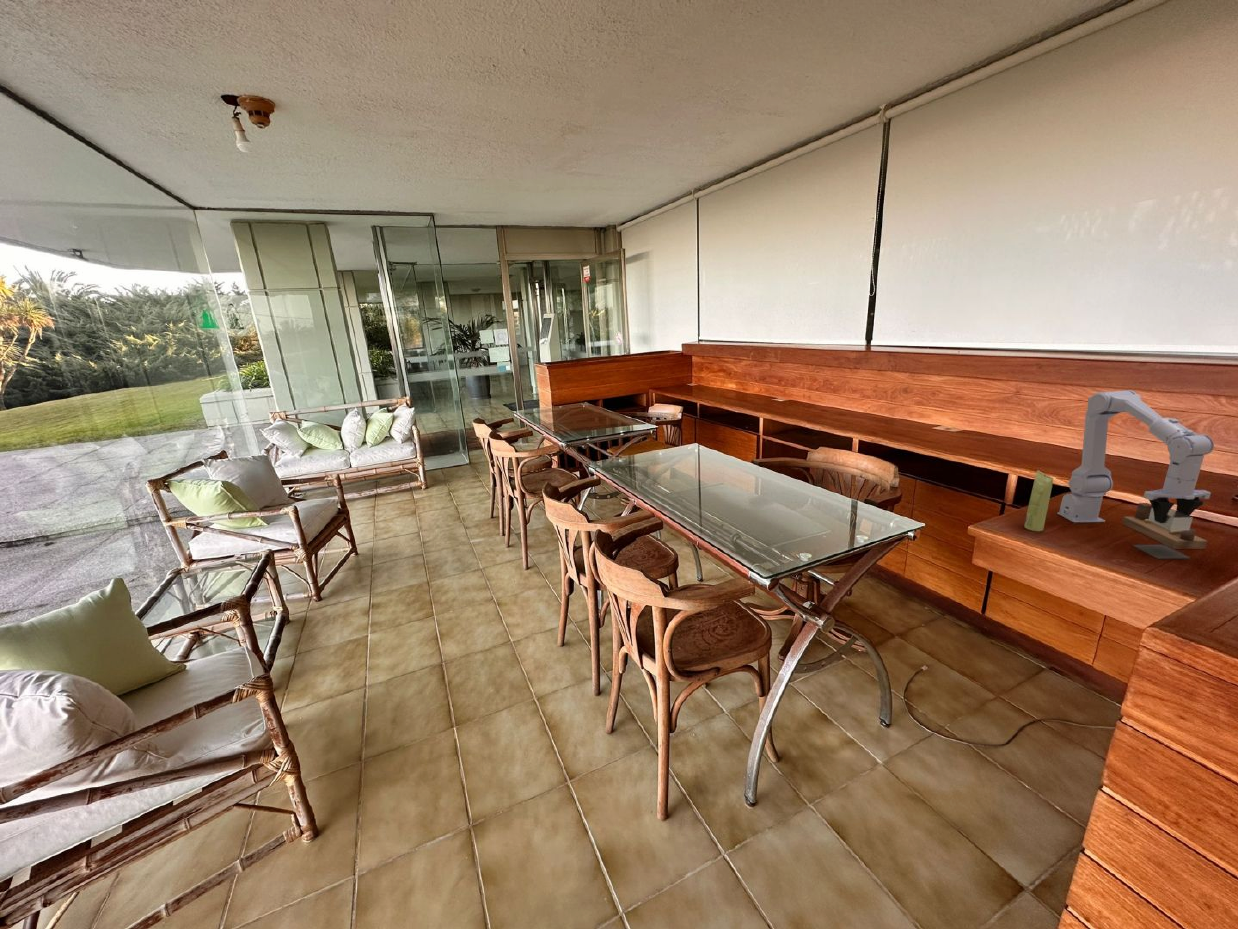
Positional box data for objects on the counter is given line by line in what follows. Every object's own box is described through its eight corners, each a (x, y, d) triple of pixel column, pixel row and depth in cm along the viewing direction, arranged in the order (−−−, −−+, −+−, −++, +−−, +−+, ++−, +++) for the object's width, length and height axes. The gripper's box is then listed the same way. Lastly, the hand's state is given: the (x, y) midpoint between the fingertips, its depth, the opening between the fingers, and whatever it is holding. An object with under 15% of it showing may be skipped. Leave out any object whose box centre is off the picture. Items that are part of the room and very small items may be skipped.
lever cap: (1170, 530, 136) (1173, 517, 135) (1148, 520, 143) (1151, 508, 141) (1189, 530, 135) (1192, 517, 134) (1166, 520, 142) (1169, 507, 141)
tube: (1048, 529, 160) (1059, 473, 154) (1042, 533, 157) (1053, 477, 152) (1027, 524, 164) (1037, 470, 159) (1021, 528, 162) (1031, 473, 156)
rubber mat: (1157, 559, 138) (1157, 557, 138) (1133, 546, 146) (1133, 545, 146) (1189, 558, 137) (1190, 557, 137) (1163, 545, 145) (1163, 544, 144)
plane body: (1173, 549, 143) (1180, 525, 140) (1121, 523, 160) (1127, 502, 157) (1205, 548, 141) (1212, 525, 139) (1149, 523, 158) (1155, 502, 156)
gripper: (1165, 482, 132) (1152, 528, 136) (1227, 481, 130) (1212, 527, 134) (1142, 474, 138) (1131, 517, 142) (1200, 472, 136) (1187, 516, 140)
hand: (1169, 521), depth 139 cm, fingers closed on lever cap, 4 cm apart
